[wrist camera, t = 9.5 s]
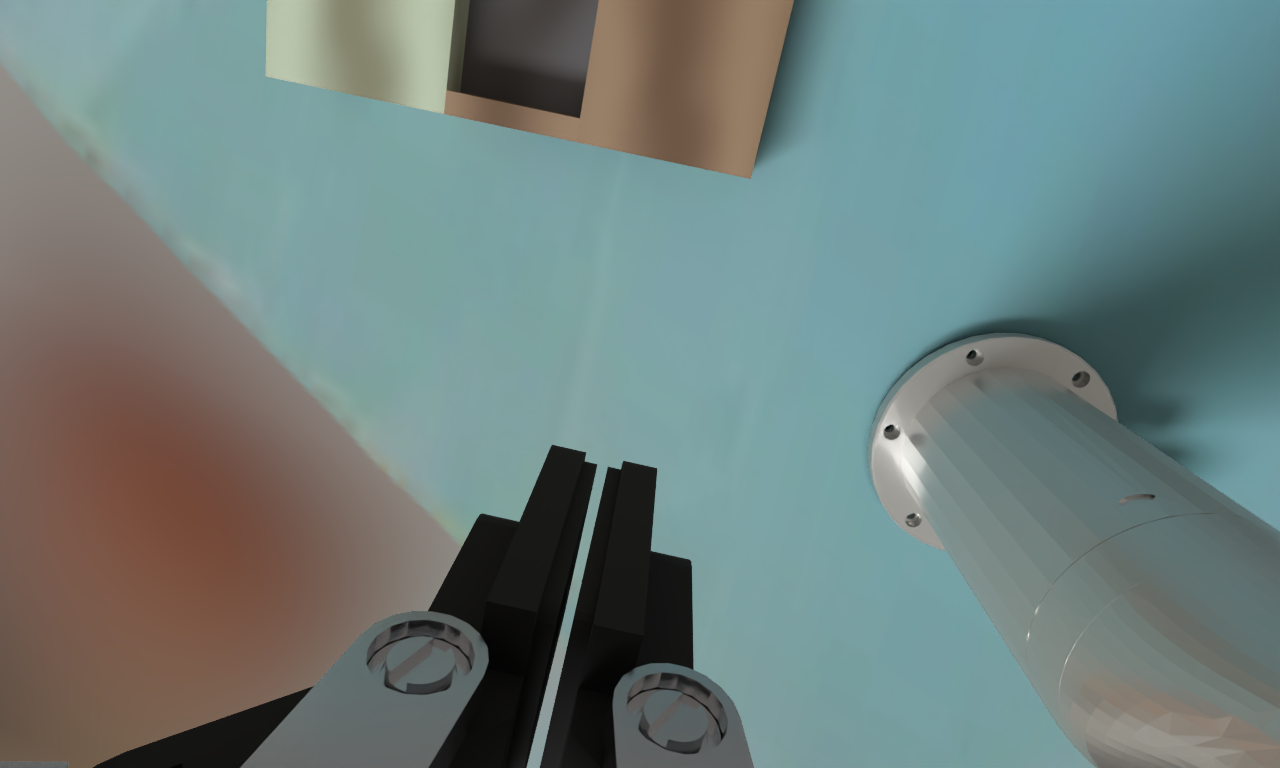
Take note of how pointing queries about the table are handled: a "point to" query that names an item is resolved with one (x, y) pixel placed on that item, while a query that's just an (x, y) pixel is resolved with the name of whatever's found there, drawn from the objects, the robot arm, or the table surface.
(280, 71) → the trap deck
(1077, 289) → the table surface
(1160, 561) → the robot arm
